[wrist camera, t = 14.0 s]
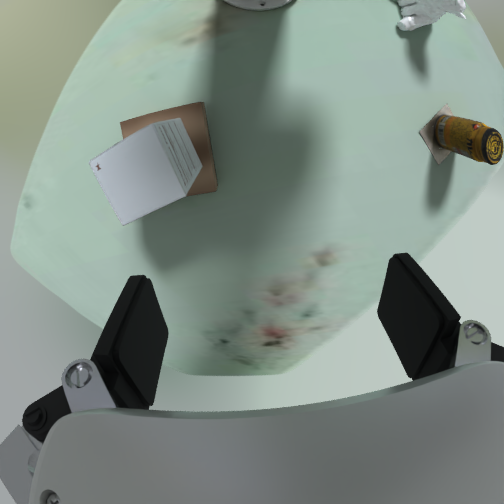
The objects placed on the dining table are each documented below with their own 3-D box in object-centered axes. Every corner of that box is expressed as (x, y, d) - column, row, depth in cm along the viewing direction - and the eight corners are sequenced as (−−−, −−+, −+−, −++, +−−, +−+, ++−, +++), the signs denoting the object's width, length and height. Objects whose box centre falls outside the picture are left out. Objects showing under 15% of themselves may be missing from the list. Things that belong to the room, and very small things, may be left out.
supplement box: (155, 189, 35) (120, 228, 24) (132, 141, 32) (85, 160, 21) (204, 167, 34) (187, 198, 23) (182, 115, 31) (151, 121, 20)
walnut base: (128, 120, 33) (120, 122, 30) (203, 102, 32) (200, 101, 30) (145, 198, 39) (139, 205, 36) (217, 185, 38) (216, 191, 36)
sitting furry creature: (380, -18, 22) (419, -43, 11) (422, -10, 21) (464, -26, 11) (397, 31, 26) (444, 17, 16) (437, 36, 26) (485, 29, 15)
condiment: (463, 137, 34) (511, 153, 24) (437, 164, 37) (484, 187, 27) (446, 103, 32) (496, 112, 21) (418, 131, 35) (468, 145, 24)
